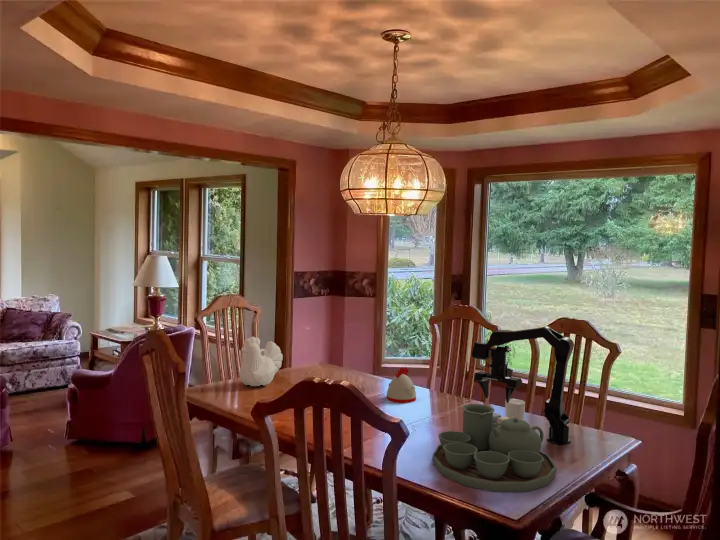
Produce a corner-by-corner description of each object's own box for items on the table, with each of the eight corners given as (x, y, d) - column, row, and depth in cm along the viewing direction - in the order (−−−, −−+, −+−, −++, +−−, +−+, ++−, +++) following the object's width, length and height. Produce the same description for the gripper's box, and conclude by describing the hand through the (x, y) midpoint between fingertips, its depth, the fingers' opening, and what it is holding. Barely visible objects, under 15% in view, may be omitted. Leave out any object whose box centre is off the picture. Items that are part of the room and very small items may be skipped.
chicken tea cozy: (422, 399, 279) (423, 368, 278) (401, 404, 270) (402, 372, 269) (400, 393, 290) (401, 362, 289) (380, 398, 280) (381, 366, 280)
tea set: (409, 466, 199) (410, 418, 198) (477, 439, 227) (479, 397, 226) (514, 507, 171) (516, 451, 170) (577, 470, 199) (580, 422, 198)
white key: (512, 426, 230) (512, 419, 229) (504, 428, 227) (505, 420, 227) (504, 424, 233) (504, 416, 233) (497, 425, 231) (497, 418, 231)
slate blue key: (500, 422, 234) (501, 415, 234) (493, 424, 232) (494, 416, 232) (493, 419, 238) (493, 412, 238) (486, 421, 236) (486, 414, 235)
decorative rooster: (246, 391, 286) (247, 340, 284) (233, 384, 298) (233, 335, 297) (292, 385, 300) (293, 336, 299) (277, 378, 313) (278, 331, 312)
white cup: (502, 426, 243) (503, 402, 242) (507, 421, 250) (508, 397, 249) (521, 429, 239) (522, 405, 238) (526, 424, 246) (527, 400, 245)
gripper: (529, 362, 237) (528, 401, 238) (488, 355, 250) (487, 392, 251) (515, 366, 229) (514, 406, 230) (473, 359, 242) (472, 397, 242)
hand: (497, 400), depth 238 cm, fingers open, 9 cm apart
